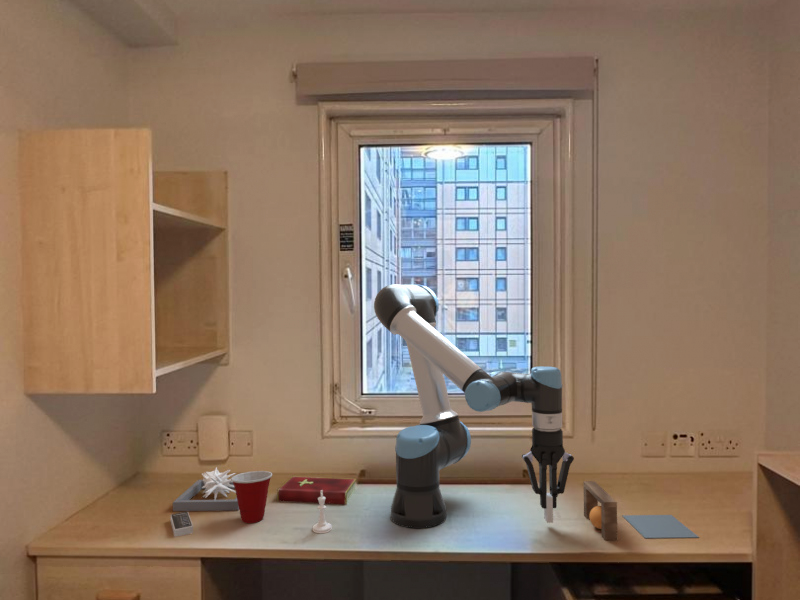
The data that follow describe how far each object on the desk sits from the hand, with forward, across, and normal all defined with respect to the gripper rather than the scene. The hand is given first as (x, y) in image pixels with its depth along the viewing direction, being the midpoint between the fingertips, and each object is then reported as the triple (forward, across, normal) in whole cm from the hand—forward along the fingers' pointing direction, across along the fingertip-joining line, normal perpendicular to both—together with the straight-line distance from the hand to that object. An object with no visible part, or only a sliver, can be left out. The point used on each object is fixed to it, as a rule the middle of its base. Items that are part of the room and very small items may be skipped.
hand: (548, 520), depth 133 cm
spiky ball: (+2, -92, +25) cm, 96 cm away
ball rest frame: (+2, -93, +23) cm, 96 cm away
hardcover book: (+3, -63, +24) cm, 68 cm away
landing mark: (+2, +28, 0) cm, 28 cm away
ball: (-1, +13, -1) cm, 13 cm away
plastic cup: (+2, -78, +8) cm, 78 cm away
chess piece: (+2, -58, +1) cm, 58 cm away
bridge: (+2, +13, 0) cm, 13 cm away
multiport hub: (+3, -95, +3) cm, 95 cm away
